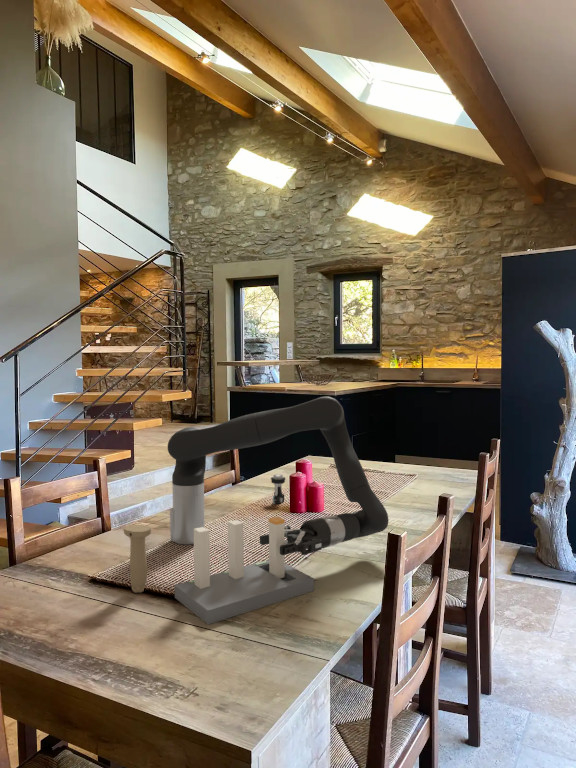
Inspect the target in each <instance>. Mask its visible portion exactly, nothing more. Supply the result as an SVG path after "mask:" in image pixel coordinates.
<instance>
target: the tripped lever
mask: <svg viewBox="0 0 576 768" xmlns="http://www.w3.org/2000/svg"><path fill="white" fill-rule="evenodd" d="M285 522H286V521H285V519H284V518H282V517H279V516H274V517H269V518H268V534H269V544H268V560H269V573H270V574H272V575H274V576H276V577H278V578H279V579H281V578H284V577H285V564H286V562H285V555H281V554H280V546H281V545H285V544H284V539H285V537H284V526H285Z"/></svg>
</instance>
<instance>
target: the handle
mask: <svg viewBox="0 0 576 768" xmlns="http://www.w3.org/2000/svg"><path fill="white" fill-rule="evenodd" d="M123 533H124V535H125V536H127V537H129V539H130V540H129V541H130V552H129V553H130V554H129V576H130V577H129V578H130V584H131V585H130V586H131V591H133V593H143V592H144V588H146V589H147V584H146V583H147V579H148V563H147V562H148V561H147V552H146V551H147V549H146V538H147V537H148V536H150V535H151V533H152V527H151V526H149V525H144V524H131V525H127V526H125V527H123Z"/></svg>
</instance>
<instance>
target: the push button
mask: <svg viewBox="0 0 576 768" xmlns="http://www.w3.org/2000/svg"><path fill="white" fill-rule="evenodd" d="M270 481H271V483H272V484H273V485H274V491H273V496H272V500H271V502H272V503H271V504H272V505H273V504H274V505H278V504H281V503H284V502H285V494H284V493H283V492H282V491H283V489H282V487H283V486H282V485H283V484H285V482H286V477H285V476H284V475H283V474H281V473H280V474H279V473H277V474H273V475H272V477H270Z"/></svg>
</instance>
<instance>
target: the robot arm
mask: <svg viewBox="0 0 576 768" xmlns="http://www.w3.org/2000/svg"><path fill="white" fill-rule="evenodd" d="M313 430H320V432H321V433H322V435H323V437H324V438H325V439H324V440H326V442H327V445H328V447H329V449H330V452H331V455H332V458H333V460H334V461H333V462H334V464H335V468H336V472H337V476H338V478H339V480H340V484H341V487H342V488H343V491H344V493H345V496H346V498H347V500H348V501H349V502H350V503H357V504H358V505H359V506H360V508H361V509H360V510H357V511H354V512H351V513H350V512H345V513H344V512H343V513H339V514H335V515H327V516H322V517H316V518H313V519H312V518H311V519H309V520H305V521H304V522H303V523H302V524H301V526H300V528H298V527H295V528H291V525H286V526H285V525H284V545H281V546H280V554H281V555H290V554H293V553H294V554H299V553H301V555H302V556H305V555H309V554H312V553H316V552H319V551H321V550H322V549H326V548H330V547H333V546H336V545H337V544H342V543H346V542H348V541H351V540H353V539H358V538H363V537H368V536H371V535H376V534H378V533H381V532H384V531H385V530H386V529H387V528H388V526H389V514H388V512H387V510H386V507H385V506H384V505H383V503H382V502H381V500H380V499H379V497H378V496H377V494H375V492H374V491H373V490H372V488H371V485H370V484H369V481H368V479H367V475H366V473H365V471H364V469H363V466H362V464H361V462H360V459H359V457H358V455H357V453H356V451H355V449H354V446H353V443H352V441H351V438H350V434H349V432H348V428H347V423H346V418H345V411H344V407H343V406H342V405H341V403H340V402H339V401H338V400H337V399H336V398H334V397H331V396H320V397H317V398H314V399H312V400H309V401H306V402H303V403H298V404H297V405H293V406H289V407H283V408H275V409H268V410H264V411H259V412H254V413H253V412H252V413H249V414H245V415H241V416H238V417H235V418H232V419H230V420H227V421H225V422H222V423H219V424H216V425H213V426H211V427H206V428H199V429H198V428H196V427H193V426H192V427H191V426H190V427H184V428H181V429H180V430H177V431H176V432H175V433H173V434H172V435H171V437H170V438H169V440H168V442H167V452H168V453H169V455H170V457H172V459H174V460H175V466H174V469H173V472H172V475H171V476H172V477H171V480H172V481H171V484H172V486H171V487H172V491H171V492H172V508H170V510H169V513H170V514H169V526H170V527H169V529H170V533H169V535H170V542H172V543H175V544H178V545H194V529H195V528H200V527H204V528H205V525H206V524H205V473H206V467H207V455H211V454H214V453H219V452H225V451H235V450H239V449H240V450H241V449H246V448H251V447H257V446H261V445H266V444H269V443H273V442H276V441H278V440H280V439H283V438H286V437H287V436H290V435H292V434H296V433H300V432H306V431H313ZM285 538H286V539H285ZM259 545H261V546H265V545H266V546H267V545H269V533H266V534H262V535H260V536H259Z"/></svg>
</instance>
